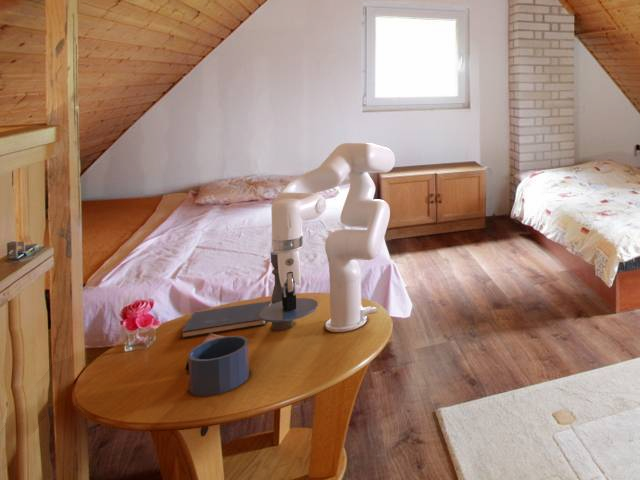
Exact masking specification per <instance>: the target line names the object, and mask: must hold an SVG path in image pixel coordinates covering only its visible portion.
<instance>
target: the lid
mask: <svg viewBox="0 0 640 480" xmlns="http://www.w3.org/2000/svg"><path fill="white" fill-rule="evenodd" d="M283 297H284V292H283ZM318 307H319V302H318V300H316V299H313V298H310V297H309V298H308V297H296V309H294V310H290V311H285V312H284V311H283V306H282V301H280V302H277V303H274V304H272V303H271V305H269V306H267V307H266V308H264V309H263V310H262V311H261V312H260V314H259V317H260V319H261V320H263V321H266V323H272V322H284V321H290V320H293V321H294V320H298V319H300V318H303V317H307V316H308V315H310V314H312V313H314V312H315V311H316V310H317V309H318Z"/></svg>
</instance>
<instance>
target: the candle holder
mask: <svg viewBox="0 0 640 480" xmlns="http://www.w3.org/2000/svg"><path fill="white" fill-rule="evenodd" d="M270 264H271V266H272V267H273V269H272V271H271V274H272V275H273V276H274V285H273V289H272V295H271V299H270V301H271V305H272V304H274V303H277V302H280V301H282V293H283V288H282V287H281V283H280V279H279V272H278V253H275V252H273V251H271V252H270ZM293 326H294V320H290V321H284V322H271V329H272V330H273V331H276V332H277V331H285V330H288V329H290V328H292V327H293Z"/></svg>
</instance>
